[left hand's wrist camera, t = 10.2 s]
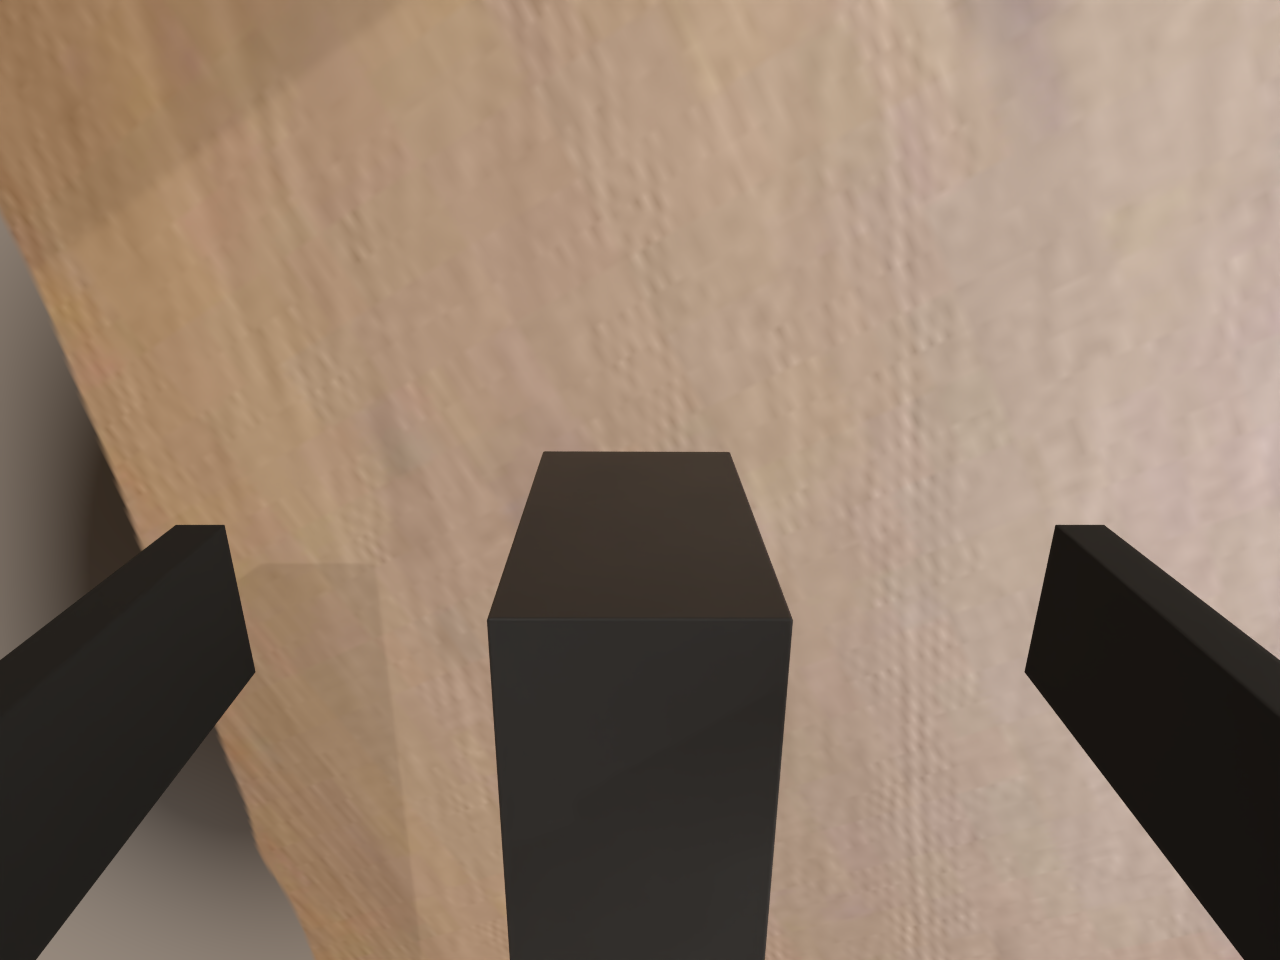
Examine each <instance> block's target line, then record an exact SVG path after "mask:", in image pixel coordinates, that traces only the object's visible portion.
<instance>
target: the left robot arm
mask: <svg viewBox="0 0 1280 960" xmlns="http://www.w3.org/2000/svg"><path fill="white" fill-rule="evenodd" d="M254 673H255V668H254V663H253V658H252V653H251V649H250V644H249V639H248V634H247V630H246V625H245V620H244V615H243V611H242V606H241V601H240V596H239V592H238V587H237V582H236V577H235V573H234V568H233V563H232V558H231V554H230V549H229V544H228V539H227V535H226V530H225V525H175V526H174V527H173V528H171V529H170V530H169V531H168V532H166V533H165V534H164V535H162V536H161V537H160V538H158V539H157V540H156V541H155V542H153V543H152V544H151V545H149V546H148V547H147V548H145V549H144V550H143V551H142V552H140V553H139V554H138V555H136V556H135V557H134V558H133V559H131V560H130V561H129V562H127V563H126V564H125V565H123V566H122V567H121V568H120V569H118V570H117V571H116V572H114V573H113V574H112V575H110V576H109V577H108V578H107V579H105V580H104V581H103V582H101V583H100V584H99V585H97V586H96V587H95V588H93V589H92V590H91V591H90V592H88V593H87V594H86V595H84V596H83V597H82V598H80V599H79V600H78V601H77V602H75V603H74V604H73V605H71V606H70V607H69V608H68V609H66V610H65V611H64V612H62V613H61V614H60V615H58V616H57V617H56V618H54V619H53V620H52V621H51V622H49V623H48V624H47V625H45V626H44V627H43V628H41V629H40V630H39V631H38V632H36V633H35V634H34V635H32V636H31V637H30V638H29V639H27V640H26V641H25V642H23V643H22V644H21V645H19V646H18V647H17V648H16V649H14V650H13V651H12V652H10V653H9V654H8V655H6V656H5V657H4V658H3V659H1V660H0V960H36V959H37V958H38V956H39V955H40V954H41V952H42V951H43V950H44V949H45V947H46V946H47V944H48V943H49V942H50V941H51V939H52V938H53V937H54V935H55V934H56V933H57V931H58V930H59V929H60V928H61V926H62V925H63V924H64V922H65V921H66V920H67V918H68V917H69V916H70V914H71V913H72V912H73V911H74V909H75V908H76V907H77V905H78V904H79V903H80V901H81V900H82V899H83V897H84V896H85V895H86V893H87V892H88V891H89V889H90V888H91V887H92V886H93V884H94V883H95V882H96V880H97V879H98V878H99V876H100V875H101V874H102V872H103V871H104V870H105V868H106V867H107V866H108V865H109V863H110V862H111V861H112V859H113V858H114V857H115V855H116V854H117V853H118V851H119V850H120V849H121V848H122V846H123V845H124V844H125V842H126V841H127V840H128V838H129V837H130V836H131V834H132V833H133V832H134V831H135V829H136V828H137V826H138V825H139V824H140V823H141V821H142V820H143V819H144V817H145V816H146V815H147V813H148V812H149V811H150V810H151V808H152V807H153V806H154V804H155V803H156V802H157V800H158V799H159V798H160V796H161V795H162V794H163V792H164V791H165V790H166V789H167V787H168V786H169V785H170V783H171V782H172V781H173V779H174V778H175V777H176V775H177V774H178V773H179V772H180V770H181V769H182V768H183V766H184V765H185V764H186V762H187V761H188V760H189V758H190V757H191V756H192V754H193V753H194V752H195V751H196V749H197V748H198V747H199V745H200V744H201V743H202V741H203V740H204V739H205V737H206V736H207V735H208V734H209V732H210V731H211V730H212V728H213V727H214V726H215V724H216V723H217V722H218V720H219V719H220V718H221V716H222V715H223V714H224V713H225V711H226V710H227V709H228V707H229V706H230V705H231V703H232V702H233V701H234V699H235V698H236V697H237V696H238V694H239V693H240V692H241V690H242V689H243V688H244V686H245V685H246V684H247V682H248V681H249V680H250V678H251V677H252V676H253V675H254ZM1025 673H1026V675H1027V676H1028V677H1029V678H1030V680H1031V681H1032V682H1033V684H1034V685H1035V686H1036V688H1037V689H1038V690H1039V692H1040V693H1041V694H1042V696H1043V697H1044V698H1045V699H1046V701H1047V702H1048V703H1049V705H1050V706H1051V707H1052V709H1053V710H1054V711H1055V713H1056V714H1057V715H1058V716H1059V718H1060V719H1061V720H1062V722H1063V723H1064V724H1065V726H1066V727H1067V728H1068V730H1069V731H1070V732H1071V734H1072V735H1073V736H1074V737H1075V739H1076V740H1077V741H1078V743H1079V744H1080V745H1081V747H1082V748H1083V749H1084V751H1085V752H1086V753H1087V754H1088V756H1089V757H1090V758H1091V760H1092V761H1093V762H1094V764H1095V765H1096V766H1097V768H1098V769H1099V770H1100V772H1101V773H1102V774H1103V775H1104V777H1105V778H1106V779H1107V781H1108V782H1109V783H1110V785H1111V786H1112V787H1113V789H1114V790H1115V791H1116V793H1117V794H1118V795H1119V796H1120V798H1121V799H1122V800H1123V802H1124V803H1125V804H1126V806H1127V807H1128V808H1129V810H1130V811H1131V812H1132V813H1133V815H1134V816H1135V817H1136V819H1137V820H1138V821H1139V823H1140V824H1141V825H1142V827H1143V828H1144V829H1145V831H1146V832H1147V833H1148V834H1149V836H1150V837H1151V838H1152V840H1153V841H1154V842H1155V844H1156V845H1157V846H1158V848H1159V849H1160V850H1161V852H1162V853H1163V854H1164V855H1165V857H1166V858H1167V859H1168V861H1169V862H1170V863H1171V865H1172V866H1173V867H1174V869H1175V870H1176V871H1177V872H1178V874H1179V875H1180V876H1181V878H1182V879H1183V880H1184V882H1185V883H1186V884H1187V886H1188V887H1189V888H1190V890H1191V891H1192V892H1193V893H1194V895H1195V896H1196V897H1197V899H1198V900H1199V901H1200V903H1201V904H1202V905H1203V907H1204V908H1205V909H1206V910H1207V912H1208V913H1209V914H1210V916H1211V917H1212V918H1213V920H1214V921H1215V922H1216V924H1217V925H1218V926H1219V928H1220V929H1221V930H1222V931H1223V933H1224V934H1225V935H1226V937H1227V938H1228V939H1229V941H1230V942H1231V943H1232V945H1233V946H1234V947H1235V949H1236V950H1237V951H1238V952H1239V954H1240V955H1241V956H1242V958H1243V959H1244V960H1280V660H1279V659H1277V658H1276V657H1275V656H1274V655H1272V654H1271V653H1270V652H1268V651H1267V650H1266V649H1265V648H1263V647H1262V646H1261V645H1259V644H1258V643H1257V642H1255V641H1254V640H1253V639H1252V638H1250V637H1249V636H1248V635H1246V634H1245V633H1244V632H1242V631H1241V630H1240V629H1239V628H1237V627H1236V626H1235V625H1233V624H1232V623H1231V622H1229V621H1228V620H1227V619H1226V618H1224V617H1223V616H1222V615H1220V614H1219V613H1218V612H1216V611H1215V610H1214V609H1213V608H1211V607H1210V606H1209V605H1207V604H1206V603H1205V602H1203V601H1202V600H1201V599H1200V598H1198V597H1197V596H1196V595H1194V594H1193V593H1192V592H1190V591H1189V590H1188V589H1187V588H1185V587H1184V586H1183V585H1181V584H1180V583H1179V582H1177V581H1176V580H1175V579H1174V578H1172V577H1171V576H1170V575H1168V574H1167V573H1166V572H1164V571H1163V570H1162V569H1161V568H1159V567H1158V566H1157V565H1155V564H1154V563H1153V562H1151V561H1150V560H1149V559H1148V558H1146V557H1145V556H1144V555H1142V554H1141V553H1140V552H1138V551H1137V550H1136V549H1135V548H1133V547H1132V546H1131V545H1129V544H1128V543H1127V542H1125V541H1124V540H1123V539H1122V538H1120V537H1119V536H1118V535H1116V534H1115V533H1114V532H1112V531H1111V530H1110V529H1109V528H1107V527H1106V526H1105V525H1055V530H1054V535H1053V539H1052V544H1051V549H1050V554H1049V558H1048V563H1047V568H1046V573H1045V577H1044V582H1043V587H1042V592H1041V596H1040V601H1039V606H1038V611H1037V615H1036V620H1035V625H1034V630H1033V634H1032V639H1031V644H1030V649H1029V653H1028V658H1027V663H1026V668H1025Z"/></svg>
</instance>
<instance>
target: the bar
mask: <svg viewBox="0 0 1280 960" xmlns="http://www.w3.org/2000/svg"><path fill="white" fill-rule="evenodd" d="M792 625H793V619H792V617H791V614H790V611H789V609H788V606H787V603H786V601H785V598H784V595H783V593H782V590H781V587H780V585H779V582H778V579H777V577H776V574H775V571H774V569H773V566H772V564H771V561H770V558H769V556H768V553H767V550H766V548H765V545H764V542H763V540H762V537H761V534H760V532H759V529H758V526H757V524H756V521H755V518H754V516H753V513H752V510H751V508H750V505H749V502H748V500H747V497H746V494H745V492H744V489H743V486H742V484H741V481H740V478H739V476H738V473H737V470H736V468H735V465H734V462H733V460H732V457H731V454H730V453H729V452H543V454H542V457H541V460H540V463H539V466H538V469H537V472H536V475H535V478H534V481H533V484H532V487H531V490H530V493H529V496H528V499H527V502H526V505H525V508H524V511H523V514H522V517H521V520H520V523H519V526H518V529H517V532H516V535H515V538H514V541H513V544H512V547H511V550H510V553H509V556H508V559H507V562H506V565H505V568H504V571H503V574H502V577H501V580H500V583H499V586H498V589H497V592H496V595H495V598H494V601H493V604H492V607H491V610H490V613H489V616H488V619H487V627H488V642H489V657H490V672H491V687H492V701H493V716H494V731H495V746H496V761H497V775H498V790H499V805H500V820H501V835H502V850H503V864H504V879H505V894H506V909H507V924H508V939H509V953H510V960H765V949H766V937H767V925H768V913H769V901H770V889H771V877H772V865H773V853H774V841H775V829H776V817H777V805H778V793H779V781H780V769H781V757H782V745H783V733H784V721H785V709H786V697H787V685H788V673H789V661H790V649H791V637H792Z"/></svg>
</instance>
